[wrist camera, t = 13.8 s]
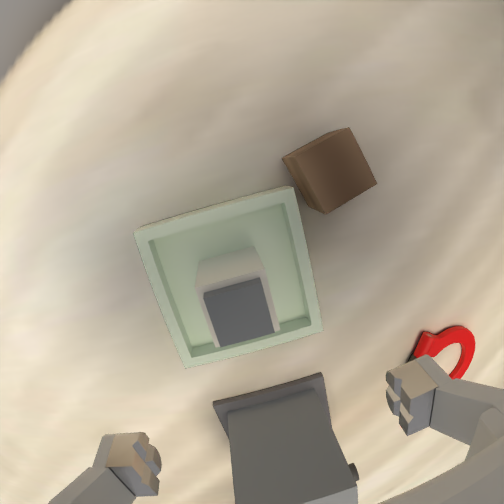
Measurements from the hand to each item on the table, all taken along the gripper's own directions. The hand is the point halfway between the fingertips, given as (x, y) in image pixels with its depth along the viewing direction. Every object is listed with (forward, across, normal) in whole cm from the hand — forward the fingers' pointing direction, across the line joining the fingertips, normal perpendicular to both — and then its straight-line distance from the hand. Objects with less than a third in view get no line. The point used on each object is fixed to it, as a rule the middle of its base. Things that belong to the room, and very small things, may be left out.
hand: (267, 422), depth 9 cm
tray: (+15, +1, 0) cm, 15 cm away
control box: (+15, +1, +15) cm, 22 cm away
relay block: (+15, +1, 0) cm, 15 cm away
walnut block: (+15, -7, -6) cm, 18 cm away
